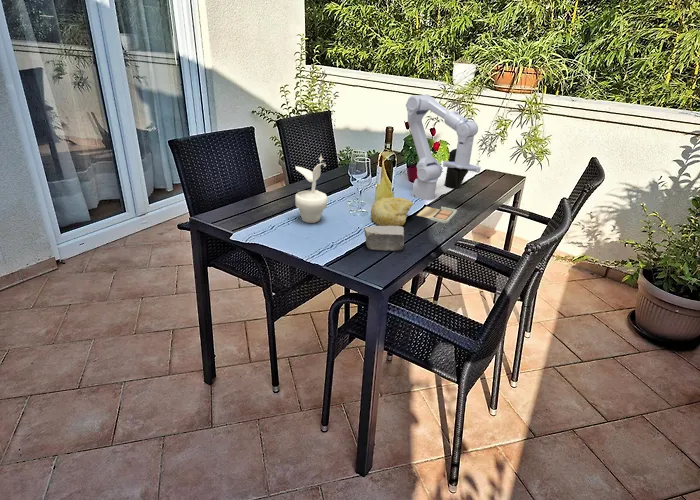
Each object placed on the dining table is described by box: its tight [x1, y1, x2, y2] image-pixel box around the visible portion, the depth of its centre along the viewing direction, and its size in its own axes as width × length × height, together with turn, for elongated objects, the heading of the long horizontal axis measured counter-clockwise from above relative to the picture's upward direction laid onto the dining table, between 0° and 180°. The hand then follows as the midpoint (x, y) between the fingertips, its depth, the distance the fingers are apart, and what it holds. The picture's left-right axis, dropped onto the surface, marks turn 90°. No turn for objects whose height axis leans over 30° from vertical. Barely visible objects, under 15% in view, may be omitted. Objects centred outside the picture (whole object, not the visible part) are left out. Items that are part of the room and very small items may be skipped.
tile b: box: [434, 213, 449, 220], centre depth 174 cm, size 4×4×2 cm
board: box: [416, 206, 441, 220], centre depth 180 cm, size 6×12×2 cm, turn 152°
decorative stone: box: [363, 225, 405, 252], centre depth 151 cm, size 15×7×10 cm
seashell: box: [370, 196, 414, 227], centre depth 169 cm, size 17×11×15 cm
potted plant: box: [294, 155, 328, 224], centre depth 164 cm, size 13×12×25 cm
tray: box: [429, 206, 458, 225], centre depth 177 cm, size 6×14×2 cm, turn 152°
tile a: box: [438, 209, 453, 218], centre depth 179 cm, size 4×4×2 cm
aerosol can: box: [443, 148, 462, 190], centre depth 213 cm, size 8×8×20 cm
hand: (458, 186), depth 182 cm, fingers closed
